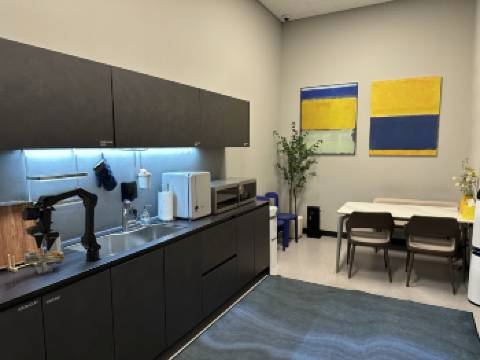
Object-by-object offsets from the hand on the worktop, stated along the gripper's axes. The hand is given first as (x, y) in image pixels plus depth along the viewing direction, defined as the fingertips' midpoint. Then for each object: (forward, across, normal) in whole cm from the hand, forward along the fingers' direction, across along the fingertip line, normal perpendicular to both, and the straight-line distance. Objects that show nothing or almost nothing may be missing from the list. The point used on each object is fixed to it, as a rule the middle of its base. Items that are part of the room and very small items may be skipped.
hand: (43, 249), depth 175 cm
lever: (+10, -8, +5) cm, 13 cm away
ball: (+5, -6, +10) cm, 12 cm away
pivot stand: (+13, -8, +6) cm, 16 cm away
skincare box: (+12, -22, +19) cm, 31 cm away
